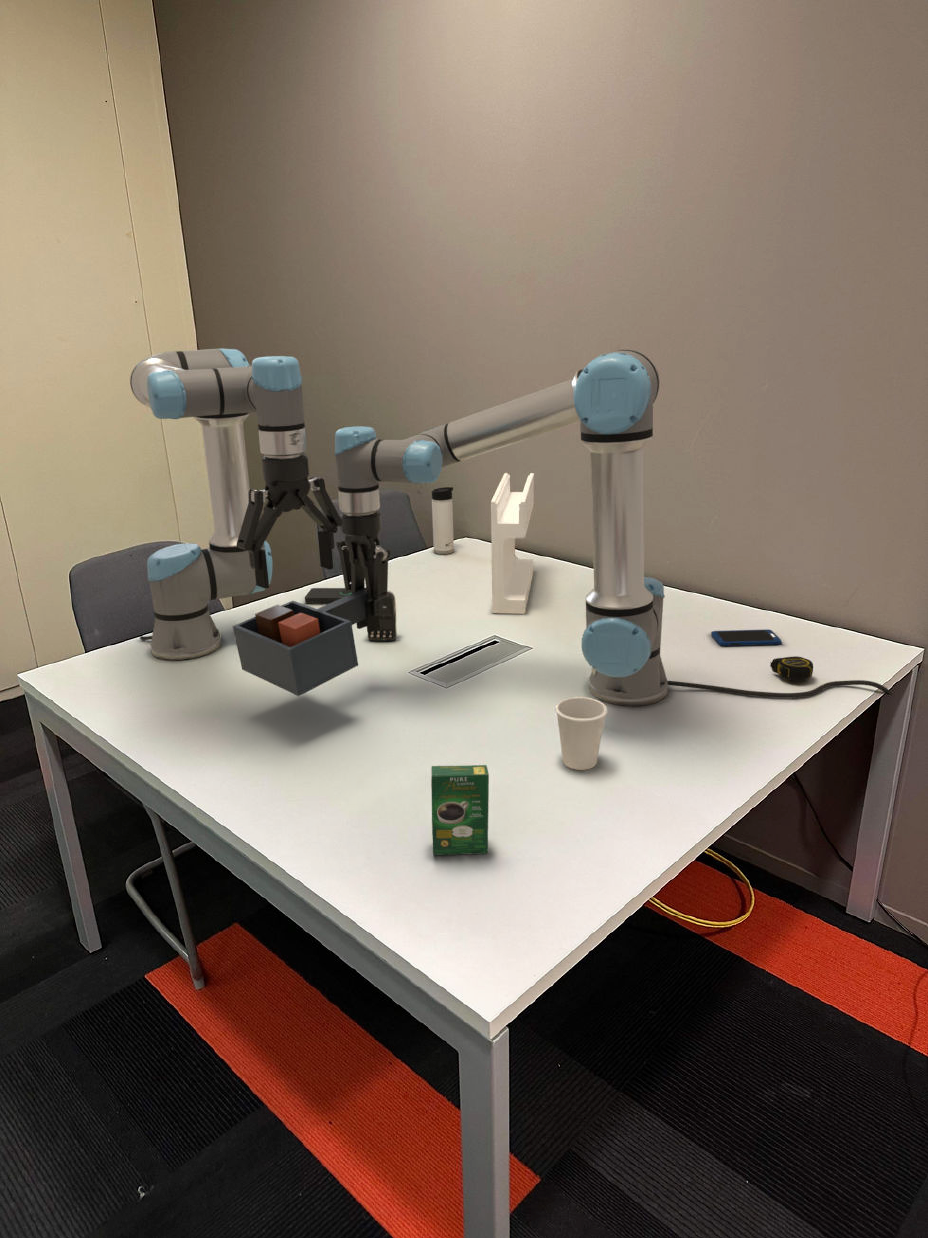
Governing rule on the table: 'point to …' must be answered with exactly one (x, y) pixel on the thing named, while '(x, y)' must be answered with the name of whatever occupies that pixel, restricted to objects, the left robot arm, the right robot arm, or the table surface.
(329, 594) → the smart home device
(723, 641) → the cell phone
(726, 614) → the table surface
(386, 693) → the table surface
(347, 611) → the tote
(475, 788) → the coffee box
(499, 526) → the white stand
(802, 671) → the tape measure
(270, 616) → the walnut block
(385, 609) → the battery charger
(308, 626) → the terracotta block
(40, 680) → the table surface
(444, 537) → the travel mug
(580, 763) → the dixie cup
